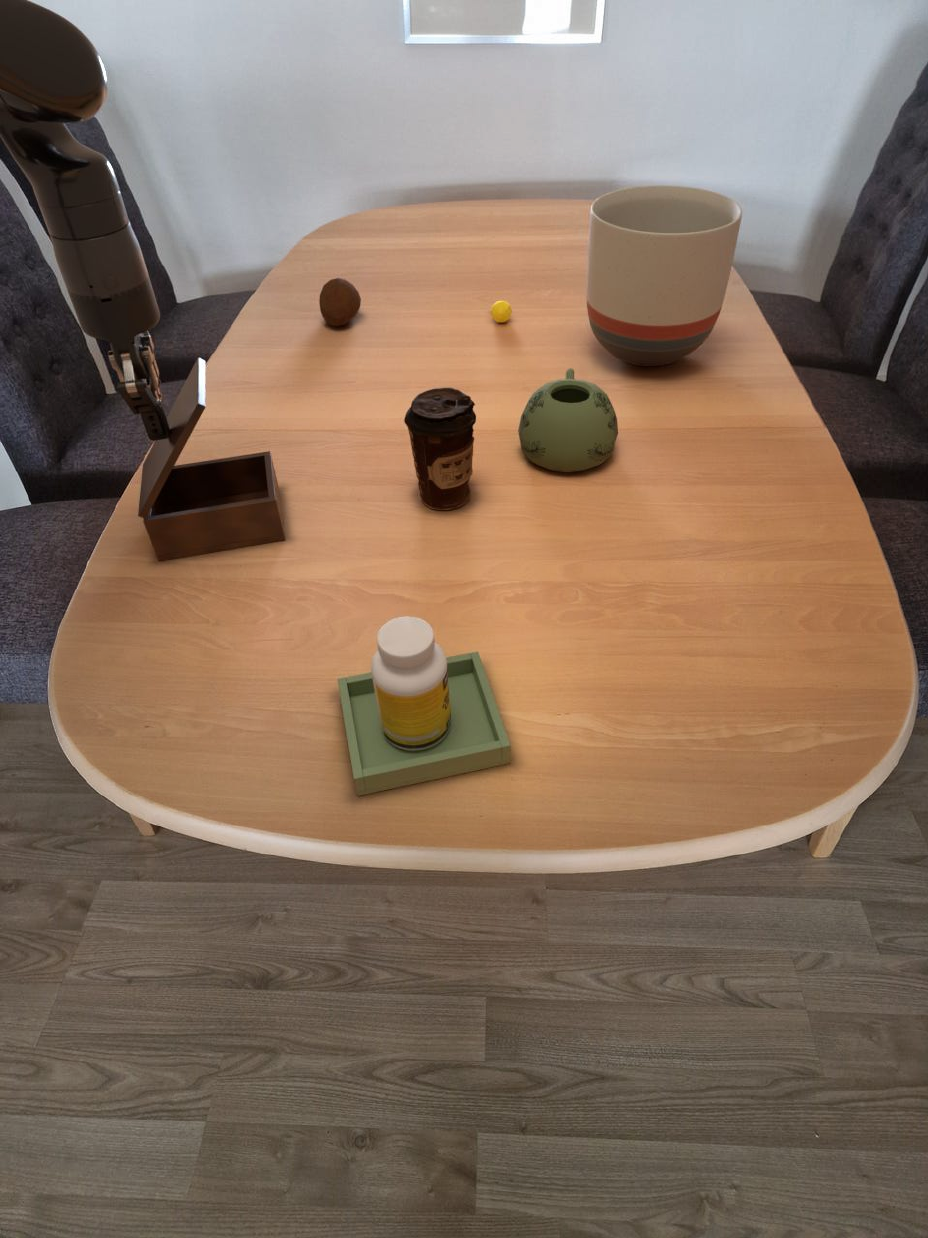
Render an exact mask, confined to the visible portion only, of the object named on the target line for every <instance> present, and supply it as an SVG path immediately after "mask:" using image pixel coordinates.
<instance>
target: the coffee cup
mask: <svg viewBox="0 0 928 1238" xmlns="http://www.w3.org/2000/svg"><path fill="white" fill-rule="evenodd" d="M474 406H476V404H475V402H474V401H473V400H472V398H471V396H470V395H467V394H466V393H464V392H462V391H461V390H460V389H457V388H453V387H437V388H432V389H428V390H424V391H423V392H421V393H418V394H417V395H416V396H415V397H414V398H413V400H412V401H411V404H410V407H409V408H408V409H407V411H406V412H405V415H404V419H403V421H404V424H405V425H406V427H407V430H408V435H409V440H410V441H409V442H410V447H411V454H412V458H413V465H414V469H415V475H416V478H417V480H418V481H417V486H418V490H419V496H420V499H421V502H422V503H423V504H424V505H425V506H426V507H428V508H429V509H432V510H439V511H448V510H453V509H456V508H459V507H461V506H463V505H465V504H466V503H467V502H468V500H469V499H470V497H471V492H472V491H471V488H470V485H469V482H470V479H471V477H472V475H473V471H474V470H473V457H474V442H475V437H474V431H475V429H474V425H475V424H476V422H477V415H476V412H475V411H474Z"/></svg>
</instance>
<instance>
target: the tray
mask: <svg viewBox="0 0 928 1238" xmlns="http://www.w3.org/2000/svg"><path fill="white" fill-rule="evenodd" d="M446 660H447V669H448V684H449V697H450V710H451V724H450V728H449V731H448V732H447V734H446V736H445V737H444V738H443V739H442V740H441V741H440V742H439V743H437V744H436V745H434V746H432V747H430V748H427V749H424V750H417V751H410V750H404V749H401V748H398V747H396V746H394V745H393V744H391V743H390V742H389V741H388V740H387V739H386V738H385V736H384V734H383V732H382V729H381V725H380V719H379V712H378V707H377V701H376V695H375V690H374V684H373V679H372V674H371V671H370V672H365V673H360V674H356V675H350V676H344V677H338V678H337V680H336V681H337V687H338V692H339V697H340V704H341V709H342V716H343V722H344V728H345V729H344V730H345V735H346V741H347V745H348V753H349V758H350V765H351V770H352V777H353V783H354V787H355V790H356V795H357V797H360V796H365V795H370V794H374V793H379V792H383V791H388V790H392V789H397V788H402V787H406V786H411V785H415V784H421V783H423V782H424V783H426V782H430V781H434V780H439V779H443V778H447V777H452V776H453V777H454V776H458V775H461V774H467V773H472V772H475V771H480V770H485V769H489V768H494V767H499V766H503V765H507V764H511V751H512V749H511V748H512V747H511V746H512V745H511V741H510V740H509V737H508V733H507V730H506V728H505V725H504V722H503V719H502V717H501V714H500V710H499V707H498V705H497V702H496V699H495V696H494V693H493V690H492V688H491V684H490V681H489V679H488V676H487V672H486V670H485V667H484V664H483V661H482V658H481V656H480V652H479V651H473V652H468V653H463V654H458V655H453V656H448V657H447V656H446Z"/></svg>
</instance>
